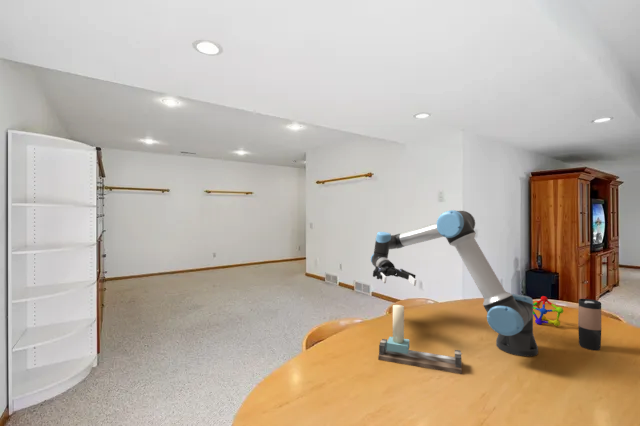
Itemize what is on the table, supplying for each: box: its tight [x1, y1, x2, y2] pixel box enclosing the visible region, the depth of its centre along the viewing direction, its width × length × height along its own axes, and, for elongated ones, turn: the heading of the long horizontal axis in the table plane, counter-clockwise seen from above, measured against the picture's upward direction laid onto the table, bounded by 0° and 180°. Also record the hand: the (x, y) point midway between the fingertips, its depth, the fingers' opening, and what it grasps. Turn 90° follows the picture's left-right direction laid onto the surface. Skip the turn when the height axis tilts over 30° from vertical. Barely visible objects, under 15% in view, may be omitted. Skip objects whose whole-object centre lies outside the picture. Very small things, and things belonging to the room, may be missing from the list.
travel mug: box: [577, 298, 602, 352], centre depth 136 cm, size 8×8×20 cm
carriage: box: [387, 304, 410, 354], centre depth 126 cm, size 8×7×17 cm
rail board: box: [377, 338, 463, 375], centre depth 123 cm, size 30×10×5 cm, turn 69°
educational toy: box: [533, 295, 564, 327], centre depth 164 cm, size 16×13×15 cm
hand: (400, 281), depth 137 cm, fingers open, 13 cm apart
